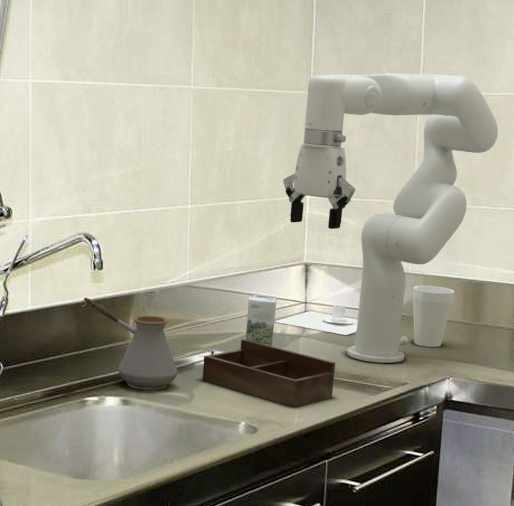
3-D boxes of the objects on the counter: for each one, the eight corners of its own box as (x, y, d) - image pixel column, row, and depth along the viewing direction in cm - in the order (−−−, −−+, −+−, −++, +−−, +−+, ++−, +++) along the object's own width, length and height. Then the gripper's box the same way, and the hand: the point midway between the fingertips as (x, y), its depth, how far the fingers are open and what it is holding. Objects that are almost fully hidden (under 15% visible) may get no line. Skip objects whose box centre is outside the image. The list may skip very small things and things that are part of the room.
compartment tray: (241, 372, 250) (244, 338, 248) (332, 397, 235) (335, 362, 233) (202, 380, 241) (204, 346, 240) (293, 407, 226) (296, 370, 224)
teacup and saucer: (344, 327, 300) (345, 311, 299) (315, 322, 304) (316, 306, 303) (359, 322, 307) (360, 306, 306) (330, 317, 312) (332, 301, 310)
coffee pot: (187, 384, 238) (192, 308, 234) (158, 396, 228) (162, 317, 224) (94, 365, 247) (98, 293, 243) (63, 376, 238) (66, 300, 234)
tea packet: (271, 362, 260) (276, 295, 256) (270, 369, 254) (276, 300, 250) (244, 360, 260) (249, 293, 256) (242, 366, 255) (248, 298, 251)
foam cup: (453, 344, 290) (460, 290, 286) (439, 350, 282) (446, 295, 279) (416, 337, 294) (422, 284, 291) (401, 343, 287) (407, 288, 283)
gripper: (369, 143, 240) (360, 230, 245) (300, 135, 251) (293, 218, 256) (346, 143, 235) (338, 232, 239) (277, 135, 246) (270, 220, 251)
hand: (314, 225), depth 248 cm, fingers open, 9 cm apart
